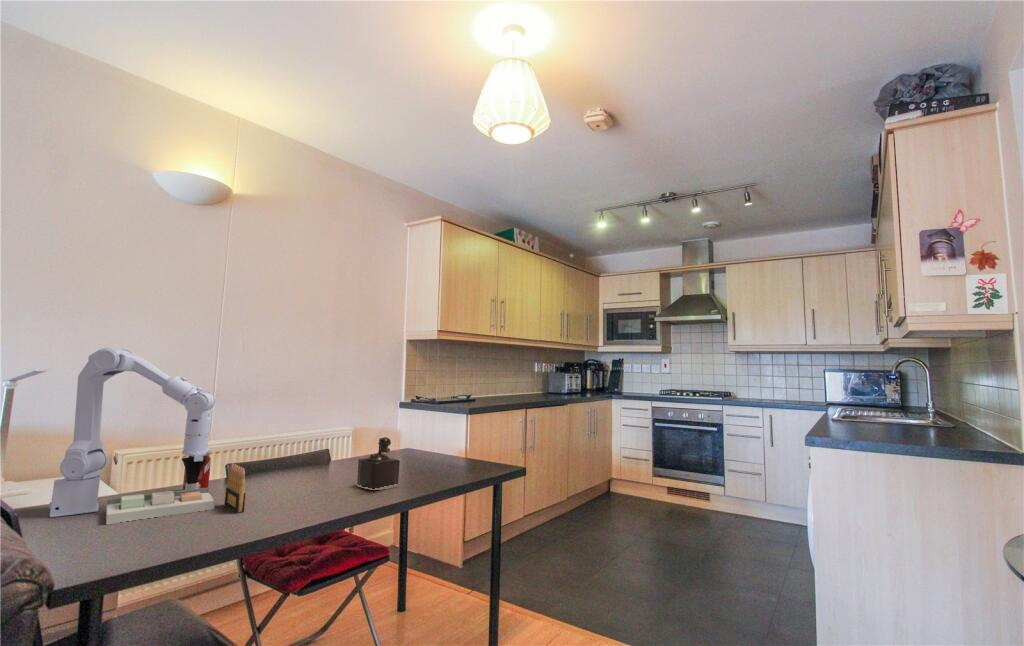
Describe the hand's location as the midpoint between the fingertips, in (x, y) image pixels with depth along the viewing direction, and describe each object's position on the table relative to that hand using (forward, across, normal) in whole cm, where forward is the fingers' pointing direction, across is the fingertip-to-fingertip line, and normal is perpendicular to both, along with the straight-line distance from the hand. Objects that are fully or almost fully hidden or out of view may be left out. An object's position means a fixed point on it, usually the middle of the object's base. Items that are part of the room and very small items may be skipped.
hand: (191, 483), depth 134 cm
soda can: (+7, +17, -4) cm, 19 cm away
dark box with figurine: (+6, -9, -54) cm, 55 cm away
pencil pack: (+7, -8, -10) cm, 14 cm away
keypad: (+7, 0, +6) cm, 9 cm away
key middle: (+5, 0, +6) cm, 8 cm away
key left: (+5, 0, +13) cm, 14 cm away
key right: (+6, 0, 0) cm, 6 cm away
